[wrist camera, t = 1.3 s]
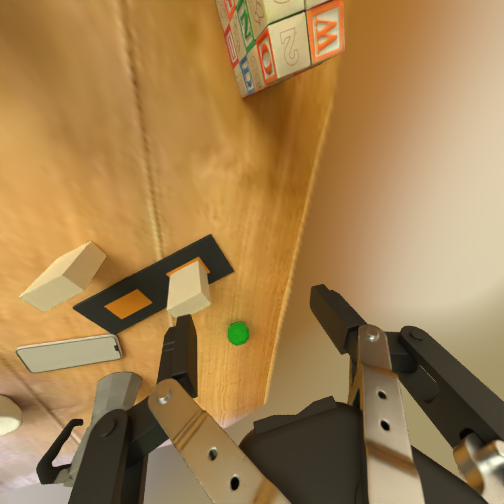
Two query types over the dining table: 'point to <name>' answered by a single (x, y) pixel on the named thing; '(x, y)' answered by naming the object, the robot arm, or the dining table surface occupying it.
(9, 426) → the spoon rest
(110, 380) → the coffeepot
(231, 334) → the polyhedron
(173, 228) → the dining table surface
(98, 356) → the smartphone
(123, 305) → the word mat
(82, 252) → the cream oblong block
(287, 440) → the robot arm
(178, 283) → the upright beige pillar
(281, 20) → the stack of blocks
